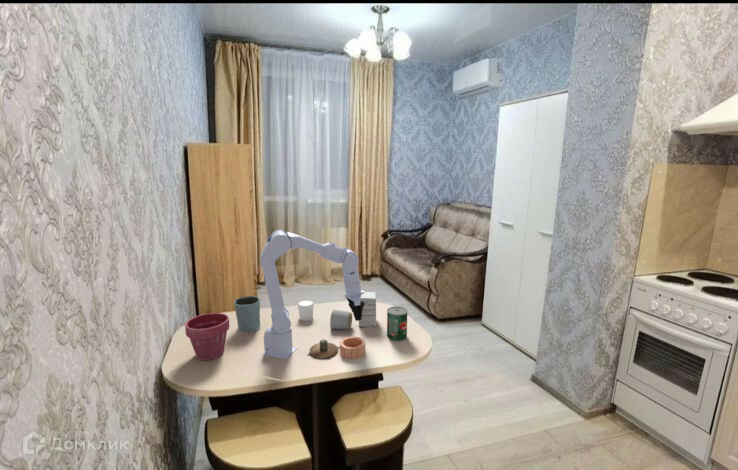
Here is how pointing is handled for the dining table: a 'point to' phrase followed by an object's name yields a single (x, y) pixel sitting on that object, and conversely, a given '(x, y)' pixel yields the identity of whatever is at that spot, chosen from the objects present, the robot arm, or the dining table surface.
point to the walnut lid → (323, 350)
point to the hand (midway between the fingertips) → (356, 315)
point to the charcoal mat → (323, 358)
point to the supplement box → (368, 309)
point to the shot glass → (305, 310)
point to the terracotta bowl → (352, 347)
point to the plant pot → (208, 334)
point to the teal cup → (248, 313)
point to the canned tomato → (397, 324)
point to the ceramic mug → (340, 320)
